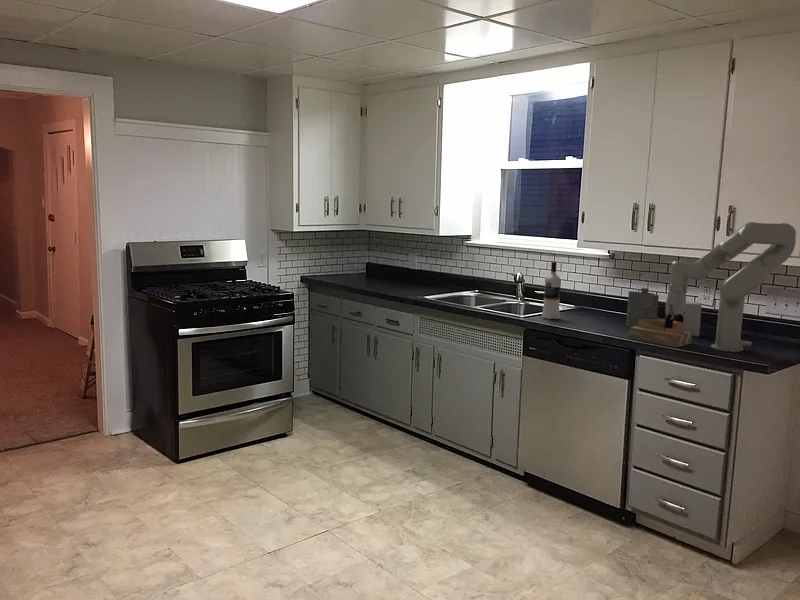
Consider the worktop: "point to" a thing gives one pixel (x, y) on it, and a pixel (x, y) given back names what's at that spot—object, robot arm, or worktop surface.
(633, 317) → the hip flask
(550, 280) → the vodka
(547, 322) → the worktop surface
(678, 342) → the stepped wooden block
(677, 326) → the cover cap
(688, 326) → the skincare box
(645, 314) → the t-key bolt
